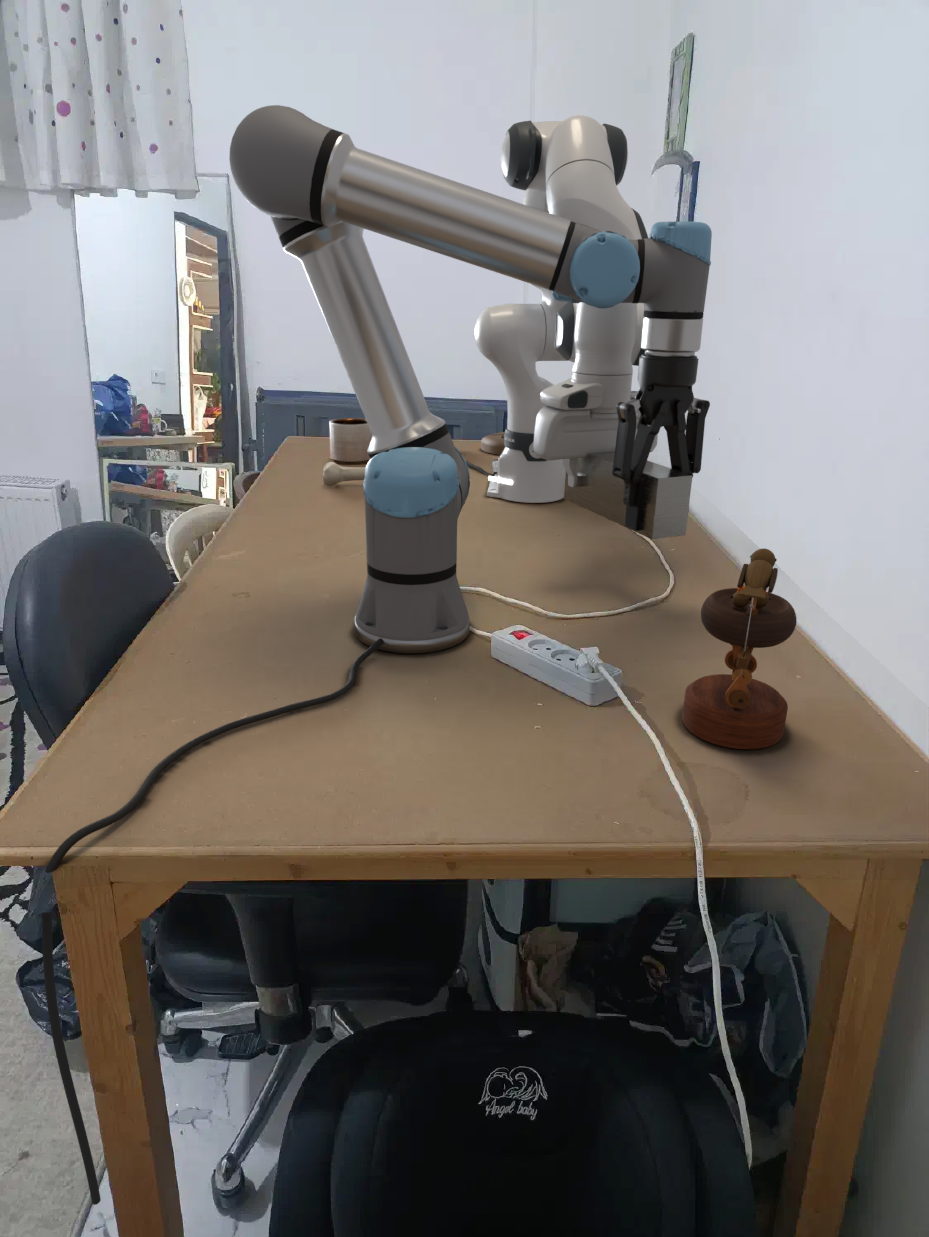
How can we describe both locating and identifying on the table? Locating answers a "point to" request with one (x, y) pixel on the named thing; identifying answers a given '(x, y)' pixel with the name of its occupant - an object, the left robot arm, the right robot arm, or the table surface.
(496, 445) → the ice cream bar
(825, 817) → the table surface
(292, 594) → the table surface
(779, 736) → the music box
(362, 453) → the planter
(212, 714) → the table surface
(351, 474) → the dog toy
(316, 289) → the left robot arm
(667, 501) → the bar
